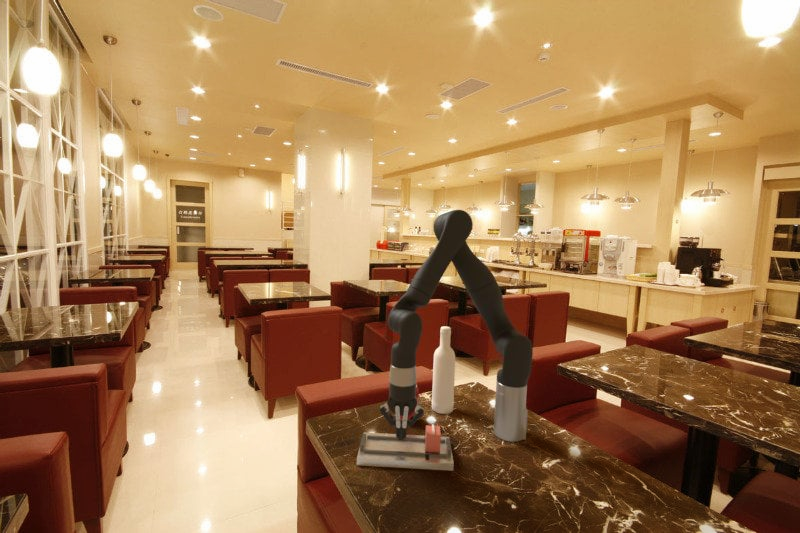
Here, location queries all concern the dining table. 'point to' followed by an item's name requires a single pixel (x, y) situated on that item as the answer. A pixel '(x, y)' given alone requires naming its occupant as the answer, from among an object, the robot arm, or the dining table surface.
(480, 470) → the dining table surface
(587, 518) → the dining table surface
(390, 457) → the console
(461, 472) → the dining table surface
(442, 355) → the bottle
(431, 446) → the fader knob
